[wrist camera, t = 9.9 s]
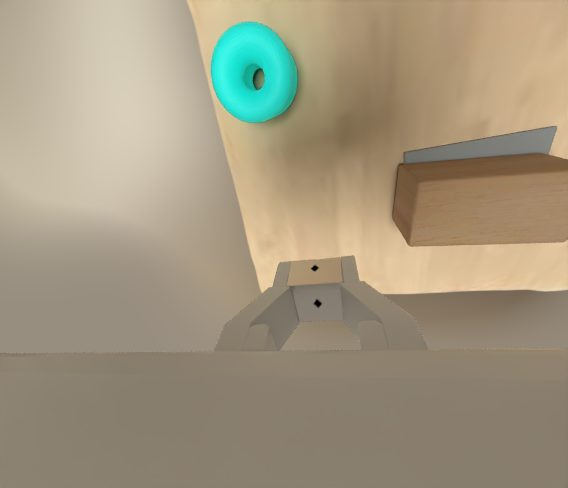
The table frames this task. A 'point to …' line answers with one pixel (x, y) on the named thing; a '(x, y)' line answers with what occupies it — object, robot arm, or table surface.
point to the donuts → (241, 67)
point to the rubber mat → (488, 147)
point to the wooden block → (483, 201)
